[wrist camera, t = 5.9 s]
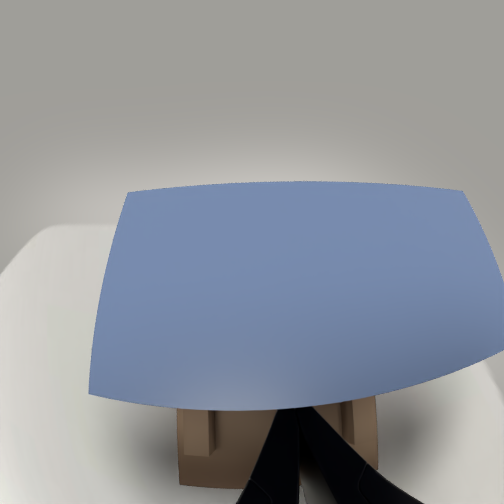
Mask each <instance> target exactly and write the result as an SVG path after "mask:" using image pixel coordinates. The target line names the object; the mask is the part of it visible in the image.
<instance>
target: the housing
mask: <svg viewBox="0 0 504 504" xmlns="http://www.w3.org/2000/svg"><path fill="white" fill-rule="evenodd" d="M313 408H314V409H315V410H316V411H317V412H318V413H319V414H320V415H321V416H322V417H323V418H324V419H325V420H326V421H327V422H328V423H329V424H330V425H331V426H332V428H333V429H334V430H335V431H336V432H337V433H338V434H339V435H340V436H341V437H342V438H343V439H344V440H345V441H346V442H347V443H348V444H349V445H350V446H351V447H352V448H353V449H354V450H355V451H356V452H357V453H358V454H359V455H360V456H361V457H362V458H363V459H365V460H366V461H367V463H369V464H370V465H371V466H372V467H373V468H374V469H375V470H378V438H377V418H376V403H375V395H374V396H370V397H365V398H360V399H355V400H349V401H343V402H337V403H331V404H324V405H316V406H313ZM276 411H277V409H273V410H248V411H220V410H195V409H181V408H177V444H178V467H179V483H180V485H187V486H197V487H208V488H226V489H244V487H245V485H246V483H247V481H248V480H249V477H250V475H251V473H252V470H253V468H254V466H255V463H256V461H257V459H258V456H259V454H260V452H261V449H262V447H263V444H264V442H265V440H266V437H267V435H268V432H269V430H270V427H271V424H272V422H273V419H274V417H275V414H276ZM300 485H302V483H301V479H299V486H300Z"/></svg>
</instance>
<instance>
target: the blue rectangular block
mask: <svg viewBox="0 0 504 504" xmlns="http://www.w3.org/2000/svg"><path fill="white" fill-rule="evenodd" d="M503 350H504V282H503V279H502V276H501V273H500V271H499V268H498V265H497V263H496V260H495V257H494V255H493V252H492V250H491V247H490V245H489V243H488V241H487V238H486V236H485V234H484V231H483V229H482V227H481V225H480V223H479V221H478V219H477V217H476V215H475V213H474V211H473V209H472V207H471V205H470V203H469V201H468V200H467V198H466V196H465V194H464V193H463V191H458V190H450V189H441V188H431V187H421V186H409V185H408V186H407V185H396V184H379V183H358V182H316V181H312V182H311V181H309V182H308V181H307V182H306V181H305V182H304V181H303V182H302V181H295V182H250V183H228V184H212V185H197V186H186V187H174V188H163V189H153V190H144V191H136V192H128V194H127V197H126V199H125V202H124V206H123V209H122V212H121V215H120V218H119V222H118V225H117V228H116V232H115V235H114V239H113V243H112V246H111V250H110V254H109V258H108V262H107V266H106V271H105V275H104V280H103V284H102V289H101V294H100V300H99V305H98V311H97V317H96V323H95V330H94V337H93V345H92V354H91V365H90V377H89V394H91V395H95V396H100V397H104V398H109V399H114V400H120V401H125V402H131V403H138V404H144V405H152V406H160V407H170V408H181V409H195V410H220V411H248V410H273V409H287V408H298V407H308V406H316V405H324V404H331V403H337V402H343V401H349V400H355V399H360V398H365V397H370V396H374V395H379V394H383V393H387V392H391V391H395V390H399V389H403V388H406V387H410V386H413V385H417V384H420V383H423V382H426V381H430V380H433V379H436V378H439V377H441V376H444V375H447V374H450V373H452V372H455V371H458V370H460V369H463V368H465V367H468V366H470V365H473V364H475V363H477V362H480V361H482V360H484V359H486V358H488V357H491V356H493V355H495V354H497V353H499V352H501V351H503Z"/></svg>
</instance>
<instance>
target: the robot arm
mask: <svg viewBox="0 0 504 504" xmlns="http://www.w3.org/2000/svg"><path fill="white" fill-rule="evenodd" d="M299 479H301V483H302V487H303V491H304V495H305V499H306V503H307V504H424V503H422V502H420V501H419V500H417V499H415V498H414V497H412V496H410V495H409V494H407V493H406V492H404V491H403V490H401V489H400V488H398V487H397V486H395V485H394V484H392V483H391V482H390V481H388V480H387V479H386V478H384V477H383V476H382V475H381V474H380V473H378V472H377V471H376V470H375V469H374V468H373V467H372V466H371V465H370V464H369V463H367V461H366V460H365V459H363V458H362V457H361V456H360V455H359V454H358V453H357V452H356V451H355V450H354V449H353V448H352V447H351V446H350V445H349V444H348V443H347V442H346V441H345V440H344V439H343V438H342V437H341V436H340V435H339V434H338V433H337V432H336V431H335V430H334V429H333V428H332V426H331V425H330V424H329V423H328V422H327V421H326V420H325V419H324V418H323V417H322V416H321V415H320V414H319V413H318V412H317V411H316V410H315V409H314V408H313V406H308V407H298V408H287V409H277V411H276V414H275V417H274V419H273V422H272V424H271V427H270V430H269V432H268V435H267V437H266V440H265V442H264V444H263V447H262V449H261V452H260V454H259V456H258V459H257V461H256V463H255V466H254V468H253V470H252V473H251V475H250V477H249V480H248V481H247V483H246V485H245V487H244V490H243V491H242V493H241V495H240V497H239V499H238V501H237V502H236V504H299Z"/></svg>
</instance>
